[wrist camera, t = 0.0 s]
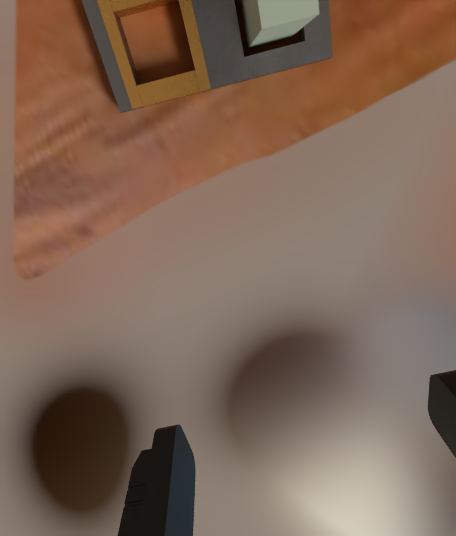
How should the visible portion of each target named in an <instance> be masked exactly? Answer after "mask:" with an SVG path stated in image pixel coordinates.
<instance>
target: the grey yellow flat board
mask: <svg viewBox="0 0 456 536" xmlns="http://www.w3.org/2000/svg"><path fill="white" fill-rule="evenodd" d="M177 1H179V3H180V8H181V12H182V16H183V20H184V25H185V29H186V33H187V37H188V42H189V46H190V50H191V54H192V58H193V63H194V67H195V70H194V71H190V72H186V73H182V74H179V75H175V76H171V77H167V78H163V79H160V80H156V81H152V82H148V83H145V84H141V85H140V82H139V79H138V76H137V73H136V69H135V66H134V63H133V60H132V56H131V53H130V50H129V47H128V43H127V40H126V37H125V34H124V30H123V27H122V24H121V21H120V17H123V16H127V15H130V14H134V13H138V12H141V11H145V10H148V9H152V8H156V7H159V6H163V5H166V4H170V3H173V2H177ZM318 2H319V15H317V16H316V17H315V18H314V19H312V20H311V21H310V22H309V23H307V24H306V25H305V26H304V27H303V28H301V29H300V30H299V31H298V32H299V43H296V44H292V45H288V46H284V47H280V48H277V49H273V50H269V51H265V52H262V53H258V54H254V55H250V56H246V57H244V53H243V47H242V41H241V36H240V30H239V24H238V18H237V13H236V7H235V1H234V0H82V3H83V6H84V9H85V12H86V15H87V18H88V21H89V23H90V26H91V29H92V32H93V35H94V38H95V41H96V44H97V47H98V50H99V53H100V55H101V58H102V61H103V64H104V67H105V70H106V73H107V76H108V79H109V82H110V85H111V87H112V90H113V93H114V96H115V99H116V102H117V105H118V108H119V111H120V113H121V112H127V111H131V110H135V109H139V108H142V107H146V106H150V105H154V104H158V103H162V102H165V101H169V100H173V99H177V98H181V97H185V96H188V95H192V94H196V93H200V92H204V91H208V90H211V89H215V88H219V87H223V86H227V85H231V84H234V83H238V82H242V81H246V80H250V79H254V78H258V77H261V76H265V75H269V74H273V73H277V72H281V71H284V70H288V69H292V68H296V67H300V66H304V65H307V64H311V63H315V62H319V61H323V60H326V59H329V58H332V46H331V32H330V17H329V3H328V0H318Z"/></svg>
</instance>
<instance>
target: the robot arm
mask: <svg viewBox="0 0 456 536" xmlns="http://www.w3.org/2000/svg"><path fill="white" fill-rule="evenodd" d="M428 412H429V416H430V419H431V421H432V423H433V425H434V427H435V428H436V430H437V431H438V433H439V434H440V436H441V437H442V439H443V440H444V442H445V443H446V444H447V446H448V447H449V449H450V450H451V452H452V453H453V455H454V456H455V457H456V370H454V371H449V372H444V373H439V374H434V375H431V377H430V384H429V397H428ZM194 496H195V461H194V456H193V452H192V450H191V448H190V445H189V443H188V441H187V439H186V436H185V434H184V432H183V430H182V427H181V426H180V425H174V426H169V427H164V428H159V429H157V430H156V431H155V434H154V439H153V444H152V449H149V450H143V451H141V453H140V455H139V457H138V459H137V460H136V462H135V464H134V466H133V468H132V471H131V476H130V481H129V485H128V491H127V495H126V499H125V507H124V509H123V513H122V518H121V523H120V528H119V532H118V536H193V521H194Z"/></svg>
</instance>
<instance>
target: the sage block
mask: <svg viewBox="0 0 456 536" xmlns="http://www.w3.org/2000/svg"><path fill="white" fill-rule="evenodd" d="M240 1H241V7H242V13H243V19H244V25H245V31H246V37H247V43H248V48H252V47H256V46H259V45H263V44H267V43H271V42H275V41H278V40H282V39H286V38H290V37H292V36H293V35H294V34H295V33H296V32H298V31H299V30H300V29H301V28H303V27H304V26H305V25H306V24H307V23H309V22H310V21H311V20H312V19H314V18H315V17H316V16H317V15H319V2H318V0H240Z"/></svg>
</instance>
